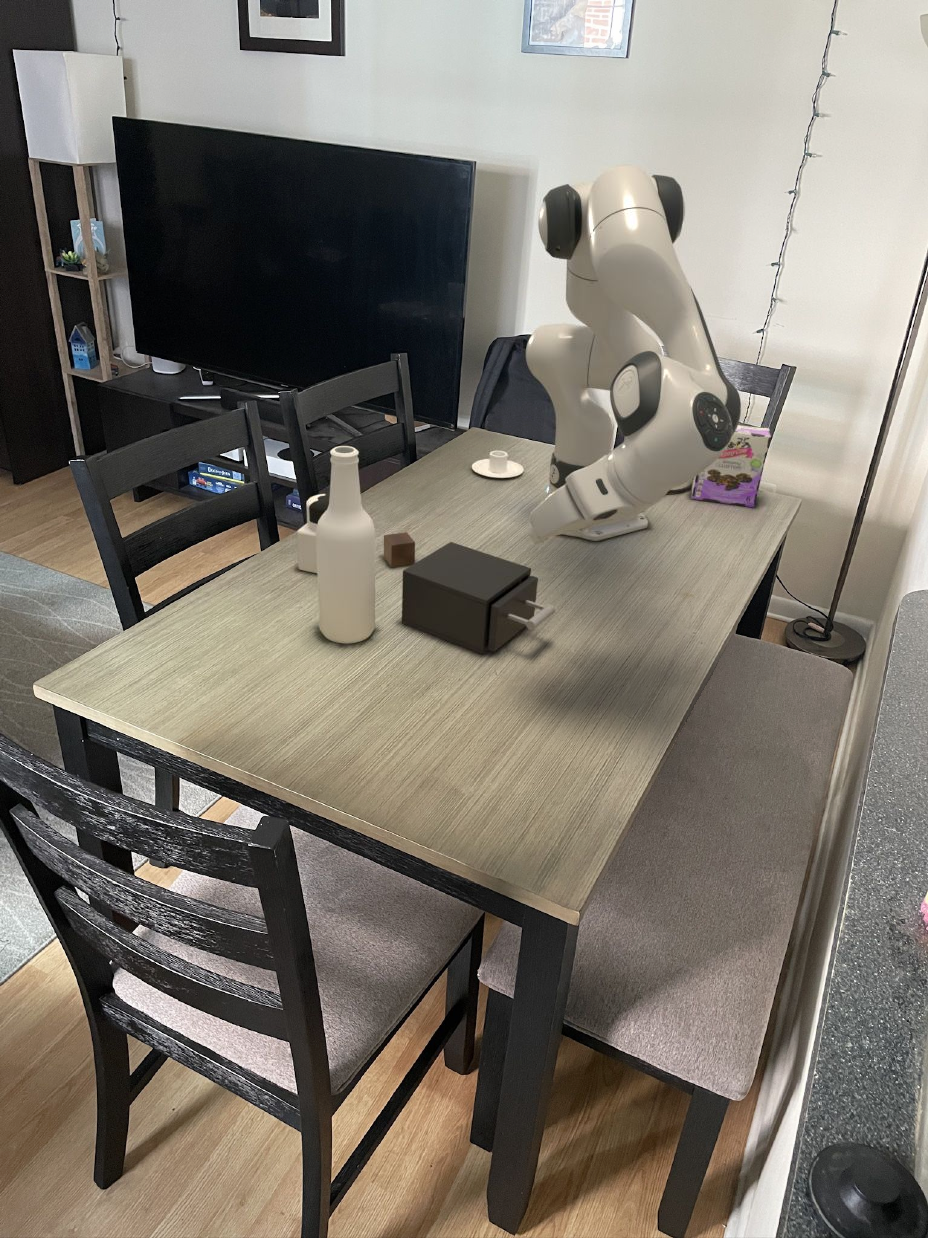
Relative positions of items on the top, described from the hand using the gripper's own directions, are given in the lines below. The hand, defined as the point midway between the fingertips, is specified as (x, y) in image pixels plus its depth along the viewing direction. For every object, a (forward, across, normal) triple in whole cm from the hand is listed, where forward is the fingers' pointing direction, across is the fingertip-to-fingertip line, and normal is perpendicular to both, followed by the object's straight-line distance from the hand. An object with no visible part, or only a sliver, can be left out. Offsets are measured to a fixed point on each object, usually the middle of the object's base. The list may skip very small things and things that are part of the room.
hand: (556, 532), depth 127 cm
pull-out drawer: (+23, -1, +6) cm, 23 cm away
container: (+47, +5, -19) cm, 51 cm away
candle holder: (+54, -54, -33) cm, 83 cm away
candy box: (+23, -83, -4) cm, 86 cm away
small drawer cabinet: (+26, 0, +3) cm, 27 cm away
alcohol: (+34, +16, -3) cm, 38 cm away
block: (+42, -6, -15) cm, 45 cm away
